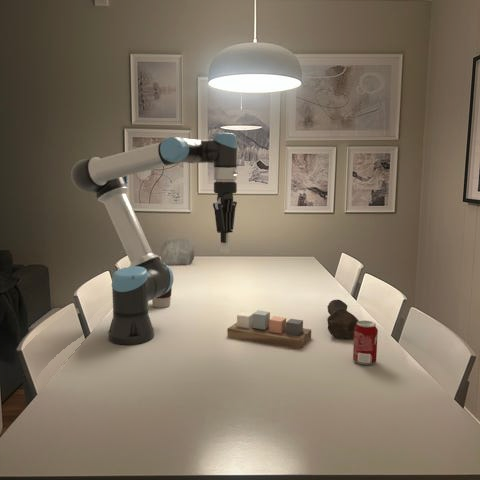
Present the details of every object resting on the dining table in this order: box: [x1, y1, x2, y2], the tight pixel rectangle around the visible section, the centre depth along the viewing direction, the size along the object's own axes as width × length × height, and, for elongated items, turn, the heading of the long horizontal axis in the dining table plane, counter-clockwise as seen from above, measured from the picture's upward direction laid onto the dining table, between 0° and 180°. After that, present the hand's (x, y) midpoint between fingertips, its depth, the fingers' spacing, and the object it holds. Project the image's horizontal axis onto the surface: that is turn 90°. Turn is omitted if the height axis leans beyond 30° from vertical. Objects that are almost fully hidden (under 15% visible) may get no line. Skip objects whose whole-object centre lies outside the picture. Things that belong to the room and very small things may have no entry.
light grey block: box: [252, 310, 271, 330], centre depth 168 cm, size 4×4×5 cm
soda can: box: [352, 320, 379, 366], centre depth 145 cm, size 7×7×12 cm
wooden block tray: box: [226, 322, 312, 350], centre depth 167 cm, size 12×26×3 cm, turn 65°
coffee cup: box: [151, 287, 173, 309], centre depth 204 cm, size 10×10×15 cm
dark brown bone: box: [326, 299, 360, 340], centre depth 178 cm, size 11×10×28 cm
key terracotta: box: [269, 316, 287, 334], centre depth 165 cm, size 4×4×5 cm
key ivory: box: [236, 311, 253, 328], centre depth 170 cm, size 4×4×5 cm
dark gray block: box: [286, 318, 304, 336], centre depth 163 cm, size 4×4×5 cm
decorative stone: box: [160, 236, 195, 266], centre depth 294 cm, size 17×20×10 cm
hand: (225, 252), depth 164 cm, fingers closed
